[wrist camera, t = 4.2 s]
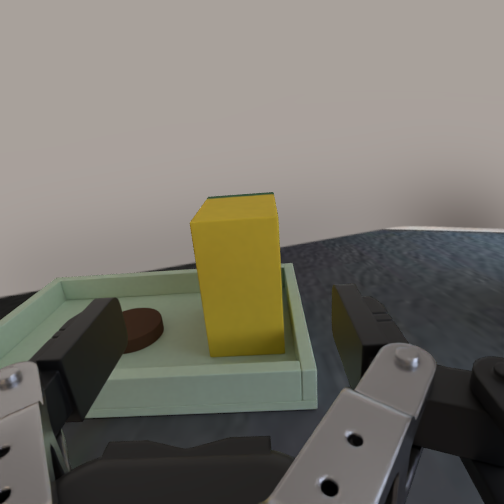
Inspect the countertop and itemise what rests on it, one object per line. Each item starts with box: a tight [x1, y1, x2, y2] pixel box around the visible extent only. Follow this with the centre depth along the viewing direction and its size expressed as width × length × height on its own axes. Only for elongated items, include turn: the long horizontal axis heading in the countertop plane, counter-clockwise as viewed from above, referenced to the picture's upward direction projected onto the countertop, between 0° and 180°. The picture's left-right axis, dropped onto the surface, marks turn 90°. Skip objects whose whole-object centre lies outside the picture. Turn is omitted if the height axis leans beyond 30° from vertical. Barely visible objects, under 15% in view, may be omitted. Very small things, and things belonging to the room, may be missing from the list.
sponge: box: [190, 192, 285, 357], centre depth 22 cm, size 5×7×9 cm
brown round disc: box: [122, 308, 164, 354], centre depth 24 cm, size 4×4×1 cm
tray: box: [0, 263, 317, 418], centre depth 24 cm, size 22×14×3 cm, turn 89°
